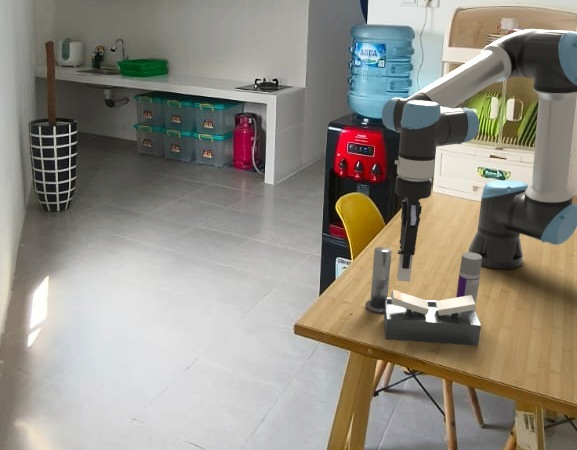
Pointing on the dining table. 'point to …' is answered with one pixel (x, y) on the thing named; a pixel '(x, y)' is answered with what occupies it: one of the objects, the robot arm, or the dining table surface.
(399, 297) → the paddle
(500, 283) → the dining table surface
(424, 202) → the dining table surface
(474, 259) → the container
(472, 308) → the paddle
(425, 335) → the grey channel rail
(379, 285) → the post
